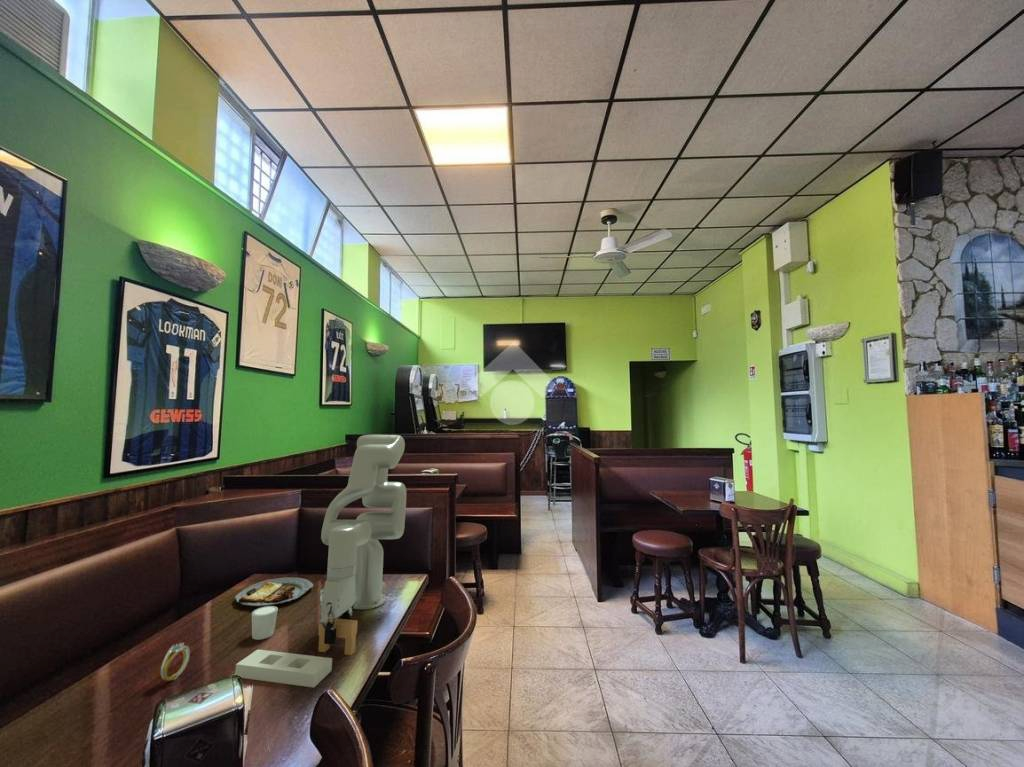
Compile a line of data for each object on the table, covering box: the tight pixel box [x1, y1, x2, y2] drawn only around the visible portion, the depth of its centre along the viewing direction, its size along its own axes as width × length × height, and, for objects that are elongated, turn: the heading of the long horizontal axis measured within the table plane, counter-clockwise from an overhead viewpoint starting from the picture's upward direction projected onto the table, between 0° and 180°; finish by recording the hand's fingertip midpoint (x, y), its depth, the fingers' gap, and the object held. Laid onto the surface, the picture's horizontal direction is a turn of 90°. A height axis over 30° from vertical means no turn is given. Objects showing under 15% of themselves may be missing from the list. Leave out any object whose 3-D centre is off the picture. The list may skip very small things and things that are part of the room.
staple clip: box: [318, 618, 359, 656], centre depth 114 cm, size 3×10×8 cm, turn 80°
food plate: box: [234, 576, 314, 608], centre depth 150 cm, size 25×23×4 cm
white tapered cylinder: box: [251, 605, 279, 640], centre depth 122 cm, size 7×7×7 cm
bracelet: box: [160, 642, 191, 682], centre depth 101 cm, size 7×3×8 cm, turn 172°
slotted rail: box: [234, 649, 333, 688], centre depth 103 cm, size 7×22×3 cm, turn 80°
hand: (337, 636), depth 114 cm, fingers open, 6 cm apart
